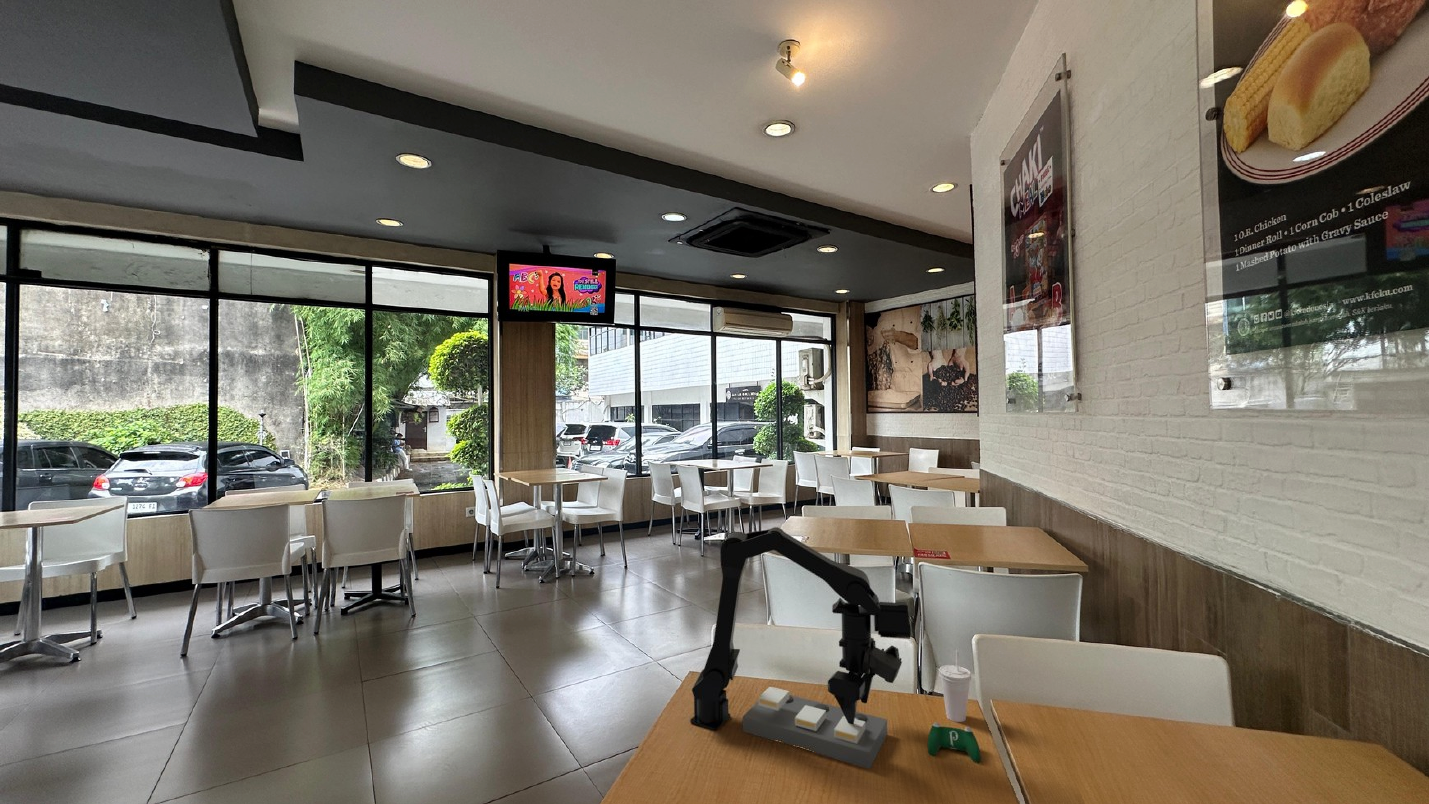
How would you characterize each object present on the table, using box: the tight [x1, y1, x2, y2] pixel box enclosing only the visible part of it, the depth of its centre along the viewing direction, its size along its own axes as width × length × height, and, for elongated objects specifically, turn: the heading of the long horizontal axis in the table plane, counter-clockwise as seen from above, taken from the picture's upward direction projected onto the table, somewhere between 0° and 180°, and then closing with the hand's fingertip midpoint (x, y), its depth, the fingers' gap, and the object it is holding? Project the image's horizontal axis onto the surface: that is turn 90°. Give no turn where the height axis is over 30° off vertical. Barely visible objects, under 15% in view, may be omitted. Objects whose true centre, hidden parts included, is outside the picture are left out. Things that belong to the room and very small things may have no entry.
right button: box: [834, 716, 865, 744], centre depth 112 cm, size 4×6×2 cm
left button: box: [757, 686, 790, 710], centre depth 120 cm, size 4×6×2 cm
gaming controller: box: [927, 722, 982, 764], centre depth 111 cm, size 9×4×6 cm
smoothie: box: [938, 650, 973, 723], centre depth 123 cm, size 6×6×14 cm
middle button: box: [795, 705, 826, 731], centre depth 116 cm, size 4×6×2 cm
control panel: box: [742, 694, 888, 770], centre depth 118 cm, size 26×13×3 cm, turn 60°
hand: (857, 712), depth 117 cm, fingers open, 9 cm apart
